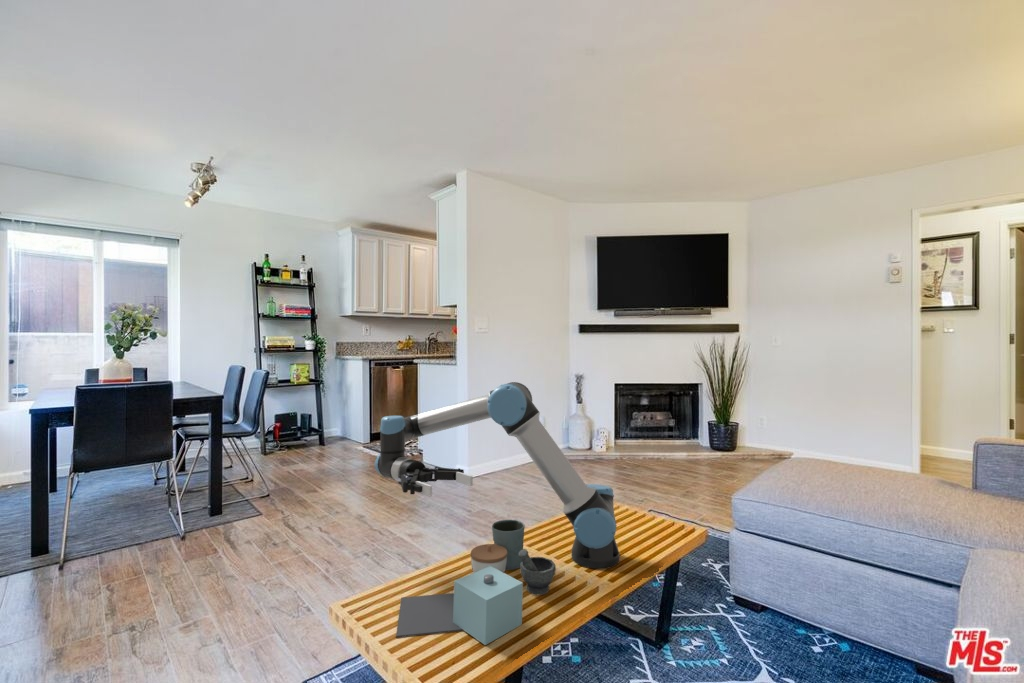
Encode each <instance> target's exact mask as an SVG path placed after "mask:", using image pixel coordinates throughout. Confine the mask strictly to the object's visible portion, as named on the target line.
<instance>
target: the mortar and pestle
mask: <svg viewBox="0 0 1024 683" xmlns="http://www.w3.org/2000/svg"><path fill="white" fill-rule="evenodd" d="M518 556H519V557H520V558H521V560H522V562H521V564H520V567H519V570H520V575H521V578H522V580H523V582H524V583H525V584H526V591H527V592H528V594H530V595H531V594H532V595H533V596H543V595H546V594H548V592H549V590H550V585H551V583H552V581H553V579H554V577H555V575H556V563H555V562H554V561H553V559H550V558H546V557H543V556H530V555H529V551H528V549H525V548H523V550H521V551H520V552H519V554H518Z"/></svg>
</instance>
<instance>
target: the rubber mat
mask: <svg viewBox="0 0 1024 683" xmlns="http://www.w3.org/2000/svg"><path fill="white" fill-rule="evenodd" d="M399 604H400V606H399V611H398V612H399V613H398V617H397V618H398V619H397V625H396V627H397V628H396V634H395V638H407V637H415V636H424V635H433V634H434V635H435V634H446V633H453V632H454V633H455V632H464V630H463V629H461V628H460V627H459V626H457V625H456V624H454V623H453V606H454V592H451V593H450V592H448V593H439V594H437V593H436V594H428V595H427V594H426V595H425V594H424V595H417V596H415V595H414V596H406V597H401V598H400V603H399Z"/></svg>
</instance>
